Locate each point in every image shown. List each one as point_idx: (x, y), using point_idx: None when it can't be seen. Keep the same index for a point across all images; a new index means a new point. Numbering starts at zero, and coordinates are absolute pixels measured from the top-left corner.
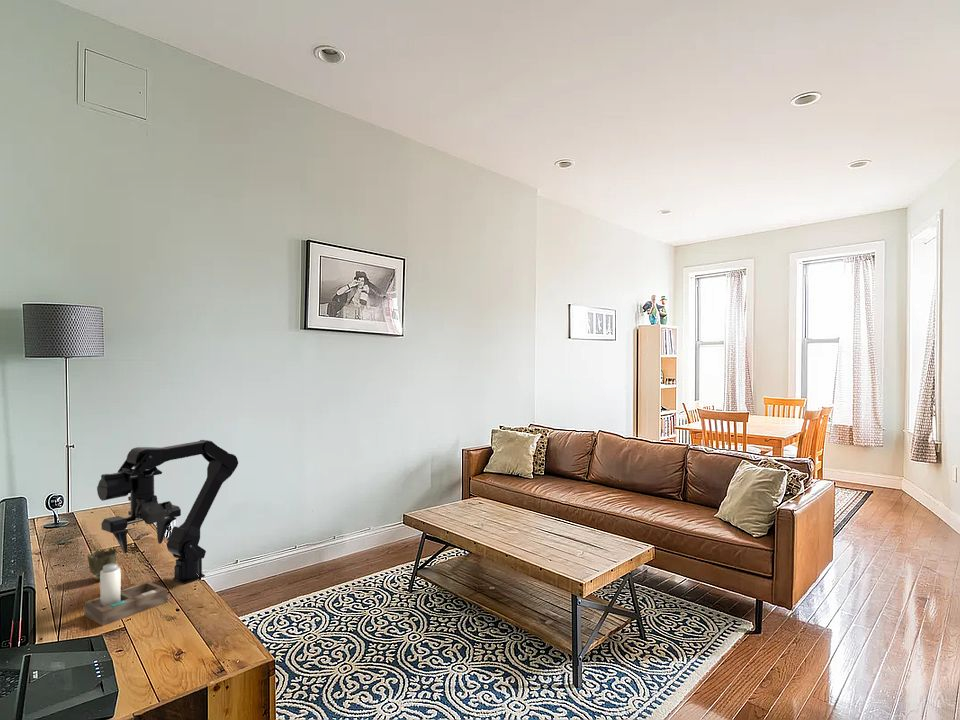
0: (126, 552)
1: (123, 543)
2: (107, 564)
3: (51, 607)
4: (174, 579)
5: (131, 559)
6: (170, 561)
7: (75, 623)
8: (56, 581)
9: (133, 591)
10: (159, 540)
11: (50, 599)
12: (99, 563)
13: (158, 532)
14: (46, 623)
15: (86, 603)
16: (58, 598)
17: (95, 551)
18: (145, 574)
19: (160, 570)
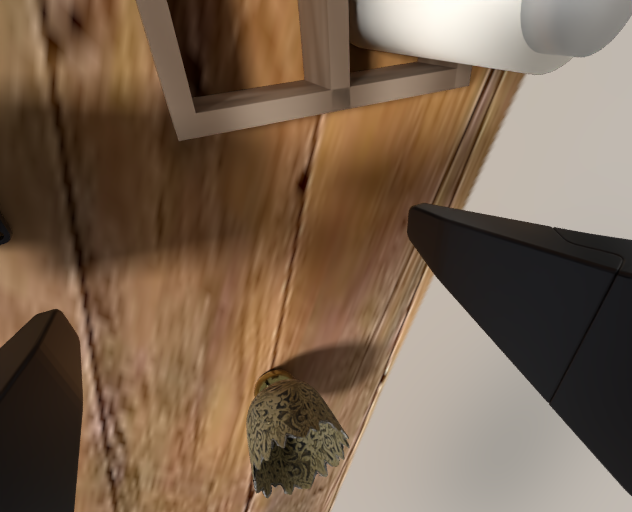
0: (420, 204)
1: (541, 225)
2: (586, 52)
3: None
4: (3, 219)
5: (161, 493)
6: None
7: None
8: (355, 406)
9: (264, 96)
10: (60, 346)
11: (412, 300)
12: (316, 408)
13: (53, 475)
14: (501, 117)
15: None
16: (399, 296)
17: (312, 482)
18: (141, 362)
19: None
